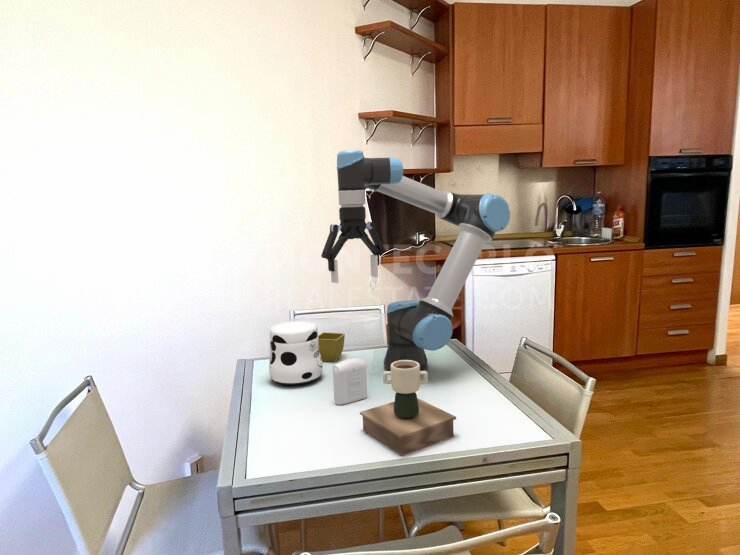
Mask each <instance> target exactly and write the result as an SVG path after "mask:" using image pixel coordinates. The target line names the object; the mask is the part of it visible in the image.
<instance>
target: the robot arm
mask: <svg viewBox="0 0 740 555" xmlns="http://www.w3.org/2000/svg"><path fill="white" fill-rule="evenodd" d="M336 171H337V188H338V190H337V191H338V193H337V194H338V205H339V206H340V207H339V209H338V210H339V211H338V213H339V214H338V215H339V224H335V223H334V224H332V223H331V224H330V225H329V226H330V227H329V234H328V236H327V239H326V241H325V244H324V247H323V250H322V251H321V256H320V257H321V258H323V259H326V260H327V267H328V268H327V269H328V271H329V272H330V275H331V283H334V284H338V283H339V268H338V264H339V263H338V262H339V261H338V259H336V258H337V256H338V255H339V253H340V251H341V250H342V249H343V247H344V246H345V244H346V242H347V241H349V240H354V239H358V240H359V239H360V240H361V241H362V242H363V244H364V245H365V246H366V247H367V249H368V250H369V251H370V252H371V254H370V256H369V257H370V277H372V278H379V266H380V262H381V261H380V260H381V259H380V256H381V255H382V253H385V252H386V248H385V246H384V244H383V243H382V240H381V238H380V235H379V234H378V231H377V228H376V223H375V221H368V222H366V218H367V217H366V216H367V214H366V207H365V204H366V194H365V193H366V191H365V188H367V189H370V190H373V191H375V192H376V191H377V192H378V193H381V194H383V195H387V196H389V197H391V198H393V199H397V200H399V201H402V202H404V203H407V204H410V205H413V206H415V207H417V208H420V209H423V210H425V211H429V212H430V213H433V214H434V215H435V217H436V218H437V219H441V220H443V221H445V222H447V223H449V224H452V225H454V226H457V227H458V228H459V234H458V236H457V238H456V240H455V242H454V244H453V246H452V248H451V249H450V252H449V254H448V255H447V258H446V259H445V262H444V263H443V265H442V267H441V270H440V271H439V273H438V275H437V277H436V279H435V281H434V283H433V285H432V287H431V289H430V291H429V292H428V294H427V297H424V298H421V299H420V300H417V299H414V300H413V299H409V300H398V301H392V302H390V303H388V305H387V307H386V317H387V318H386V319H387V320H386V321H387V322H386V323H387V348H386V352H385V356H384V359H383V369H384V370H385V371H391V364H392V363H393V362H395V361H399V360H412V361H416V362H418V363H419V364H420V371H426V370H427V369H428V367H429V366H428V365H429V362H428V358H427V355H426V351H438V350H440V349H442V348H444V347H445V346H446V345H448V343H449V342H450V340H451V338H452V335H453V323H452V320H453V318H454V313H453V310H452V309H453V308H454V306H455V303H456V301H457V299H458V297H459V295H460V293H461V291H462V289H463V287H464V286H465V284H466V282H467V279H468V277H469V276H470V274H471V272H472V269H473V268H474V265H475V263H476V262H477V259H478V258H479V257H480V256H479V255H480V253H481V251H482V250H483V248H484V246H485V244H487V243H491V242H492V240H493V239H494V237H495V234H496V233H497V232H501V231H503V230H504V229H506V228H507V226H508V225H509V222H510V221H511V220H510V219H511V210H510V205H509V203H508V202H507V201H506V199H505V198H504V197H502V195H499V194H494V193H485V194H460V193H454V192H452V191H451V190H450V191H449V190H445V191H442V190H439V189H436V188H433V187H432V186H429V185H427V184H424V183H421V182H420V181H419V182H418V181H416V180H415V179H414V180H413V179H411V178H409V177H407V176H405V175H404V165H403V163H402V161H401V160H400V159H399V158H397V157H365V156H364V152H363V151H362V150H359V149H348V150H347V149H346V150H340V151H339V152H338V153H337V155H336ZM366 230H367V231H368V233H369V235H368V234H367V232H366ZM339 232H340V235H339V236H338V233H339ZM369 236H370V237H369ZM336 239H337V240H336ZM425 350H426V351H425Z"/></svg>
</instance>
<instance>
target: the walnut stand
mask: <svg viewBox="0 0 740 555" xmlns="http://www.w3.org/2000/svg"><path fill="white" fill-rule="evenodd" d="M417 400H418V406H419V413H418V414H417V415H415V416H413V417H410V418H403V417H399V416H397V415H396V414H395V413H394V401H392V402H388V403H385V404H381V405H378V406H376V407H371V408H368V409H365V410H362V411H359V415H361V416H362V428H363V431H362V432H365V433H366V434H367V435H369V436H370V437H372V438H374V439H375V440H377V441H378V442H379V443H381V444H382V445H384V446H386V447H387V448H389V449H390V450H392V451H393V452H395V453H396V454H398V455H399V456H404V454H405V455H407V454H410V453H412V452H415V451H417V449H418V450H420V449H422V448H427V447H428V446H431V445H433V444H436V443H439V442H442V441H444V440H447V439H448V438H451V437H454V421H455V420H457V416H455V415H454V414H451V413H449V412H447V411H445V410H443V409H441V408H439V407H436V406H435V405H432V404H430V403H428V402H427V401H424V400H422V399H420V398H418V397H417ZM409 452H410V453H409Z"/></svg>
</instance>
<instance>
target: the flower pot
mask: <svg viewBox="0 0 740 555" xmlns="http://www.w3.org/2000/svg"><path fill="white" fill-rule="evenodd" d="M345 335H346V334H345V333H340V332H339V333H338V332H321V333H320V334H318V339H319V352H320V355H321V358H322V362H336V361H338V359H339V358H341V355H342V352H343V351H344V346H345Z"/></svg>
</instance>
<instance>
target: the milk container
mask: <svg viewBox="0 0 740 555" xmlns="http://www.w3.org/2000/svg"><path fill="white" fill-rule="evenodd" d="M318 336H319V328H318V325H317V323H315V322H313V321H308V320H290V321H283V322H278V323H276V324H272V326H270V327H269V338H270V339H269V344H270V345H269V347H270V358H269V365H268V370H269V375H270V378H271V379H272V381H274V382H276V383H277V384H281V385H286V386H299V385H303V384H309V383H311V382H315V380H317V379H319V377H321V375H322V373H323V361H322V358H321V355H320V352H319V339H318Z"/></svg>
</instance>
